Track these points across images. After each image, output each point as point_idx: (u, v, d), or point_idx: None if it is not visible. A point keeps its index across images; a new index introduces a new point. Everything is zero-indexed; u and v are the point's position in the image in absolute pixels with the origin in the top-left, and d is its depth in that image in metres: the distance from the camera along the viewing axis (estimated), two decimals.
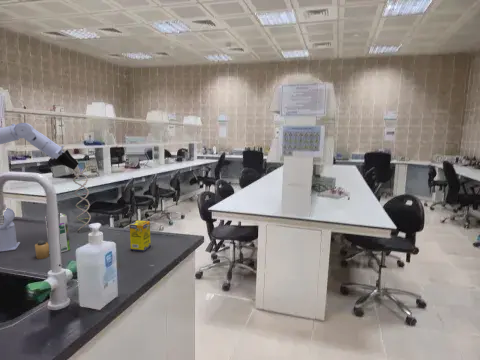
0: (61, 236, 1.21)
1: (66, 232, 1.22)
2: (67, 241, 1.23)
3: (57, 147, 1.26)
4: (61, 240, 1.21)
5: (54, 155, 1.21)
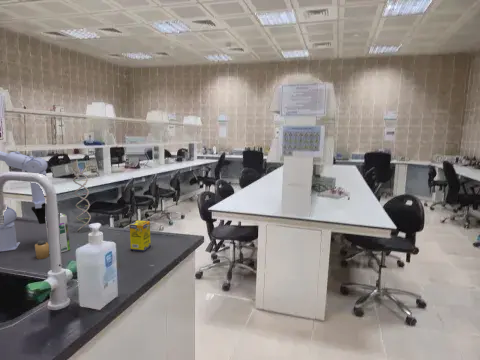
0: (61, 236, 1.21)
1: (66, 232, 1.22)
2: (67, 241, 1.23)
3: None
4: (61, 240, 1.21)
5: (37, 204, 1.19)
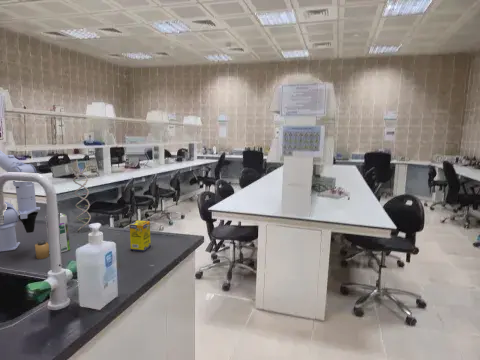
0: (61, 236, 1.21)
1: (66, 232, 1.22)
2: (67, 241, 1.23)
3: (33, 207, 1.16)
4: (61, 240, 1.21)
5: (22, 215, 1.11)
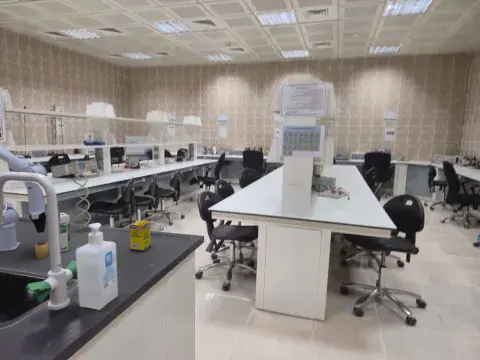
0: (62, 235, 1.21)
1: (68, 232, 1.23)
2: (68, 241, 1.23)
3: (43, 207, 1.18)
4: (62, 239, 1.21)
5: (33, 215, 1.12)
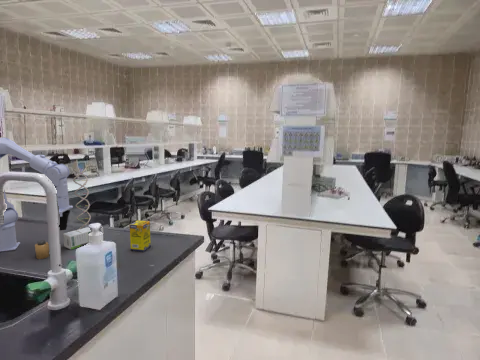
0: (86, 238, 1.29)
1: None
2: (80, 245, 1.27)
3: (66, 205, 1.21)
4: (82, 239, 1.28)
5: None
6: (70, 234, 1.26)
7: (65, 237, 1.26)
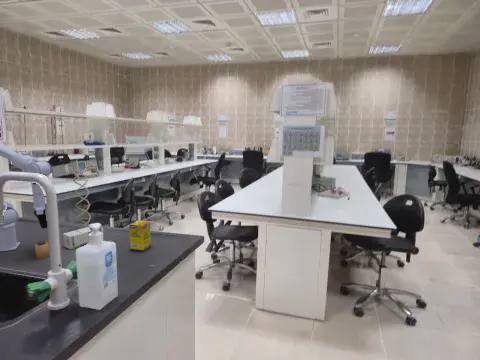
0: (86, 238, 1.29)
1: None
2: (80, 245, 1.27)
3: None
4: (82, 239, 1.28)
5: (38, 210, 1.12)
6: (70, 234, 1.26)
7: (65, 237, 1.26)
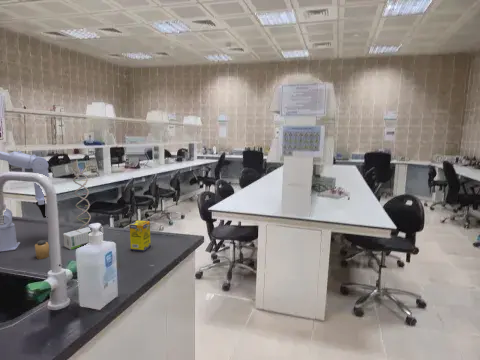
0: (86, 238, 1.29)
1: None
2: (80, 245, 1.27)
3: None
4: (82, 239, 1.28)
5: (40, 201, 1.24)
6: (70, 234, 1.26)
7: (65, 237, 1.26)
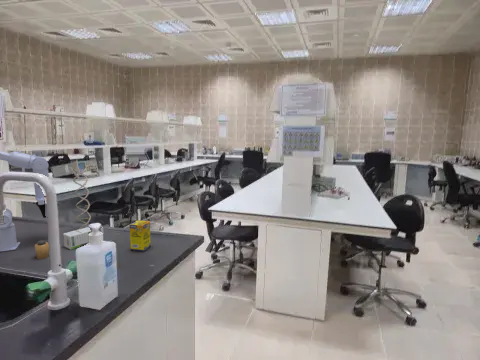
0: (86, 238, 1.29)
1: None
2: (80, 245, 1.27)
3: None
4: (82, 239, 1.28)
5: (40, 201, 1.24)
6: (70, 234, 1.26)
7: (65, 237, 1.26)
